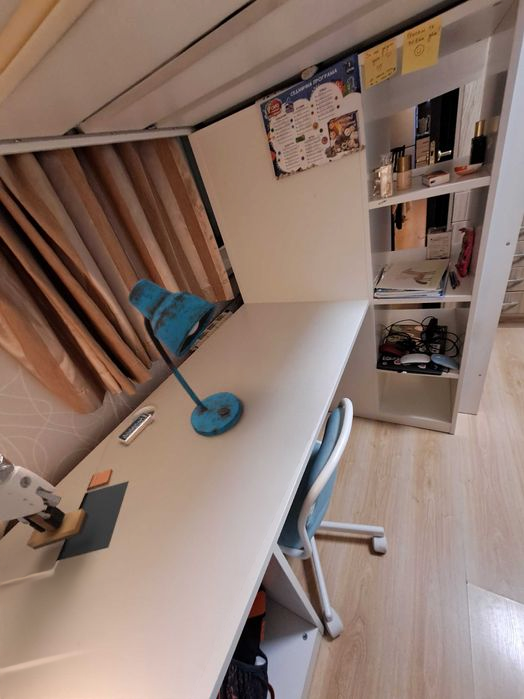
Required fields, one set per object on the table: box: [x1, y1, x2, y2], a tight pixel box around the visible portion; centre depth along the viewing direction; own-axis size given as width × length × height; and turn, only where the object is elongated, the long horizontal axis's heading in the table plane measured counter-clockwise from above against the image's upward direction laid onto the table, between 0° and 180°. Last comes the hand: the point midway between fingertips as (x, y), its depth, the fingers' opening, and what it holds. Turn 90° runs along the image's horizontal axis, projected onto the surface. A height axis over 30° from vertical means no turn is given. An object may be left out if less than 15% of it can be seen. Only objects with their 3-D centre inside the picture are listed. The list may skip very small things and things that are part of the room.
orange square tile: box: [93, 468, 114, 489], centre depth 80 cm, size 4×4×1 cm
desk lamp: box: [127, 278, 243, 437], centre depth 76 cm, size 16×22×45 cm
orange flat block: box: [86, 473, 98, 492], centre depth 80 cm, size 4×4×1 cm
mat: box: [55, 480, 130, 562], centre depth 71 cm, size 20×16×1 cm
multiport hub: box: [117, 412, 155, 446], centre depth 93 cm, size 4×11×2 cm, turn 149°
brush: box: [26, 508, 89, 551], centre depth 62 cm, size 11×4×9 cm, turn 99°
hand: (53, 523), depth 63 cm, fingers closed on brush, 2 cm apart
